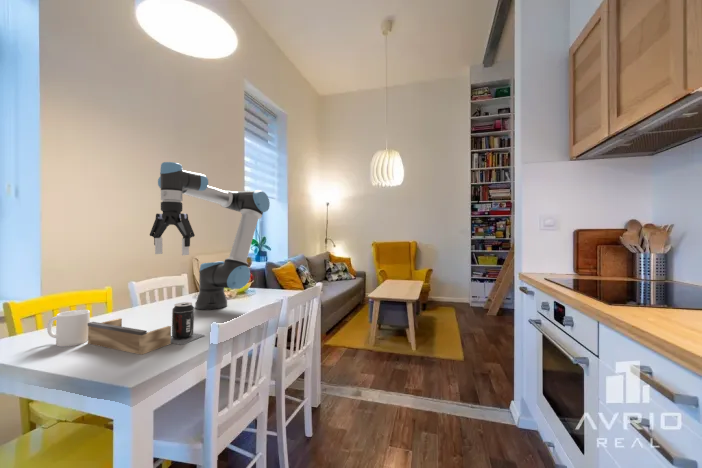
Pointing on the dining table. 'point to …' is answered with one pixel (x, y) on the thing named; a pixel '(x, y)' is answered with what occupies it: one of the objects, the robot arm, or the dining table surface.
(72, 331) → the cup
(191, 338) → the mat
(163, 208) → the robot arm
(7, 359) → the dining table surface
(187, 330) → the beverage can
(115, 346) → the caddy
